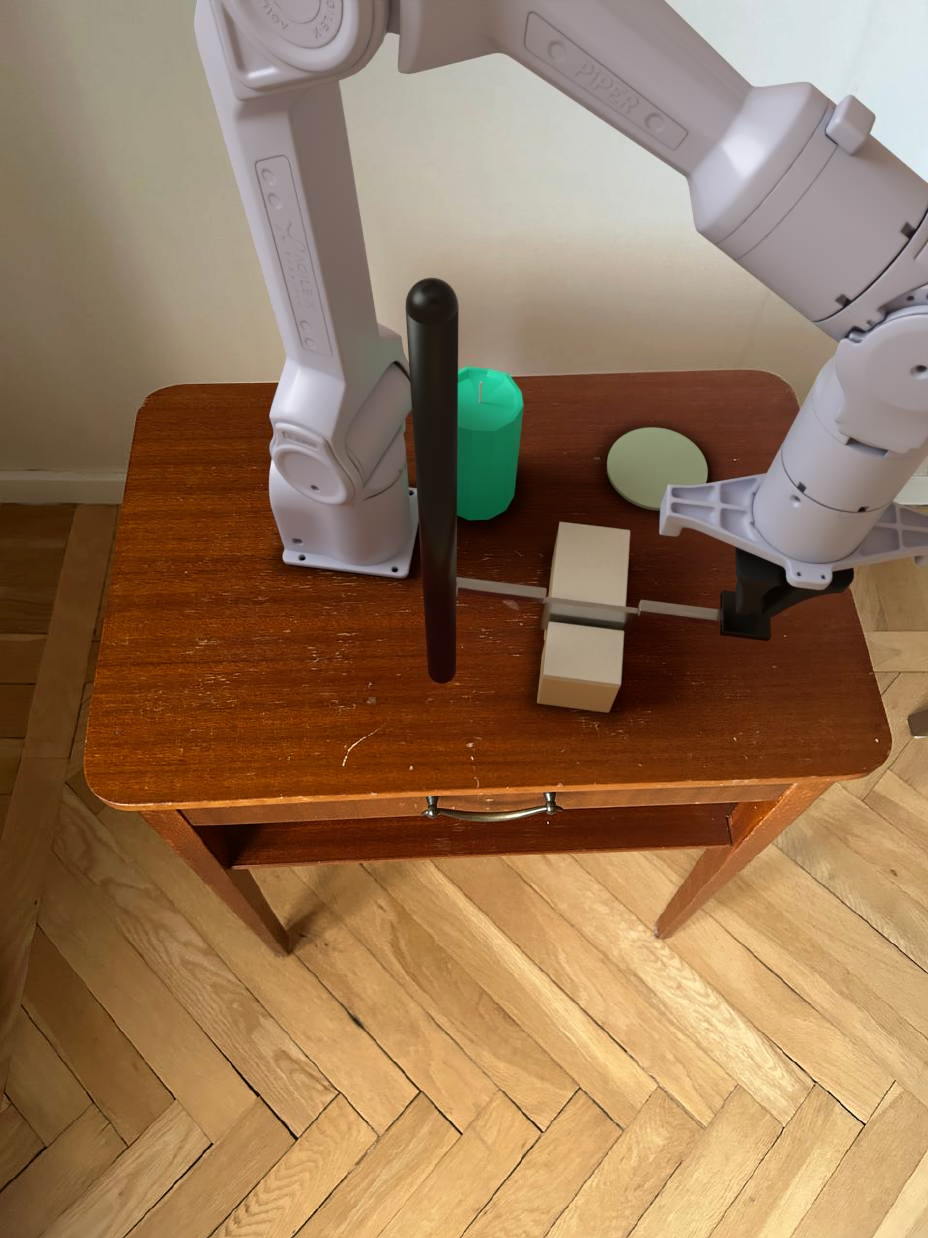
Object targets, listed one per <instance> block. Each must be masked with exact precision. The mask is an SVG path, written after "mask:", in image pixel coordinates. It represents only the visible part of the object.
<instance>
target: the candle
mask: <svg viewBox="0 0 928 1238" xmlns="http://www.w3.org/2000/svg"><path fill="white" fill-rule="evenodd" d="M524 407H525V405H524V399H523V393H522V390H521V388H519V386H518V385H517V383H516V382H515V381H514V379H513V377H512V376H511V375H510V374H509V373H507V372H503V371H500V370H496V369H491V368H485V367H477V366H464V367H462V368H460V369H458V453H457V517H460V518H463V519H465V520H467V521H485V520H491V519H493V518H494V517H497V516H498V515H500V514H503V512H506V510H507V509H508V508H509V505H510V504H511V502H512V500H513V499H514V497H515V491H516V482H517V472H518V463H519V453H520V446H521V445H520V444H521V434H522V423H523V416H524V415H523V414H524Z"/></svg>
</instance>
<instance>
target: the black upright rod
mask: <svg viewBox="0 0 928 1238" xmlns="http://www.w3.org/2000/svg"><path fill="white" fill-rule="evenodd" d="M405 321H406V336H407V337H406V338H407V339H406V340H407V353H408V362H409V372H410V388H411V404H412V411H411V417H412V418H411V419H412V420H411V421H412V435H413V451H414V452H413V453H414V468H415V482H416V488H417V501H418V517H419V522H418V530H419V533H418V534H419V547H420V563H421V578H422V580H421V581H422V597H423V611H424V614H423V615H424V624H425V625H424V628H425V644H426V645H425V646H426V660H427V673H428V676H429V678H430V679H431V680H432V681H433V682H434V683H436V684H440V685H441V684H443V685H444V684H447V683H449V682H451V681H452V680H453V679H454V678H455V676H456V673H457V602H458V597H459V594H465V595H472V596H480V597H489V598H497V599H504V600H512V601H521V602H528V603H535V604H543V606H542V611H541V617H540V623H539V630H542V631H545V630H547V629H548V624H549V622H558V623H565V624H573V625H581V626H589V627H597V628H605V629H612V630H620V631H624V641H628V640H629V636H630V634H631V632H632V630H633V626H634V624H635V621H636V618H637V617H645V618H651V619H661V620H666V621H667V620H669V621H674V622H675V621H677V622H683V623H692V624H701V625H706V626H707V625H708V626H718V623H719V635H720V636H721V637H729V638H730V637H731V638H738V639H746V640H752V641H753V640H754V641H761V642H769V641H770V640H771V638H772V618H767V617H761V599H760V600H759V602H758V604H757V605H756V607H755V608H754V610H753V611H752V612H751V613H750V614H748V615H743V614H737V612H736V591H733V590H726V589H723V590H722V591H721V592H720V593H719V594H720V595H719V609H718V608H710V607H703V606H695V605H686V604H678V603H671V602H670V603H669V602H662V601H655V600H646V599H640V601H639V604H638V607H632V606H626V607H624V606H616V605H608V604H600V603H592V602H584V601H576V600H569V599H561V598H553V597H548V596H547V588H546V587H540V586H533V585H526V584H517V583H509V582H503V581H502V582H501V581H493V580H486V579H477V578H469V577H463V576H462V577H461V576H457V575H458V574H457V573H458V571H457V569H458V566H457V565H458V561H457V560H458V515H457V453H458V371H459V300H458V296H457V293H456V291H455V290H454V288H453V287H452V286H451V285H450V284H449V283H448V282H446V281H445V280H443V279H441V278H437V277H425V278H422V279H420V280H419V281H417V282H416V283H415V284H413V285H412V287H411V288H410V289H409V291H408V293H407V295H406V298H405Z"/></svg>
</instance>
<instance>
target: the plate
mask: <svg viewBox="0 0 928 1238" xmlns="http://www.w3.org/2000/svg"><path fill="white" fill-rule="evenodd" d="M606 471H607V473H606V474H607V477H608V479H609V482H610V483H611V485H612V487H613V489H614V490H615V491H616V492H617V494H619V495H620V496H621V497H622V498H623V499H625V500H626V501H627V502H629V503H631V504H633V505H634V506H637V507H639V508H642V509H646V510H651V511H657V512H658V511H659V512H660V505H661V503H662V500H663V497H664V494H665V492H666V489H667V486H668V485H669V484H670V485H700V484H707V481H708V475H709V469H708V464H707V461H706V457H705V456H704V454H703V452H702V450H700V448H699V447H698V445H696V443H694V442H693V441H692V440H691V439H689V437H687V436H685V435H683V434H681V433H679V432H677V431H674V430H671V429H667V428H664V427H663V428H662V427H652V426H651V427H641V428H637V429H634V430H631V431H628V432H627V433H625V434H623V435H622V436H621V437H619V438H618V439H617V440H616V441H615V442H614V443H613V445H612V446H611V447H610V450H609V452H608V455H607V459H606Z"/></svg>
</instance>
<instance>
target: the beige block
mask: <svg viewBox="0 0 928 1238" xmlns="http://www.w3.org/2000/svg"><path fill="white" fill-rule="evenodd" d="M624 642H625V640H624V631H620V630H612V629H605V628H597V627H589V626H581V625H573V624H565V623H558V622H549V624H548V629H547V634H546V638H545V640H544V643H543V647H542V653H541V662H540V671H539V672H540V673H539V681H538V691H537V699H536V703H537V704H541V705H547V706H554V707H562V708H569V709H577V710H584V711H592V712H599V713H608V714H609V713H610V712H611V709H612V706H613V704H614V702H615V699H616V698H617V694H618V691H619V690H620V688H621V685H622V677H623V661H624V660H623V658H624V644H625V643H624Z"/></svg>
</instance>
